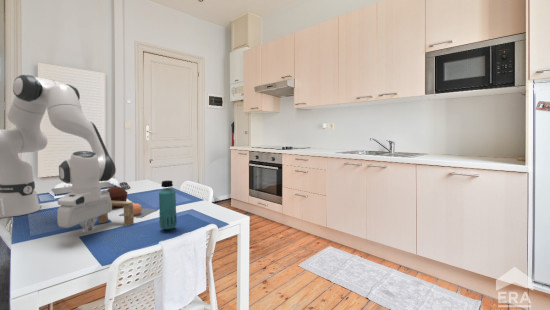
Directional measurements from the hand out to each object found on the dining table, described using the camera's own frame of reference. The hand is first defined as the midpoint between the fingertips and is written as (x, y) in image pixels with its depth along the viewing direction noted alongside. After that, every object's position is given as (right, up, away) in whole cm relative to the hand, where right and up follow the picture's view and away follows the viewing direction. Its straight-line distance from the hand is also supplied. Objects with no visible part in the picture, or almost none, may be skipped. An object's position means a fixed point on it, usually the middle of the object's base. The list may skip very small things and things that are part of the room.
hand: (88, 230), depth 99 cm
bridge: (+2, 0, +13) cm, 14 cm away
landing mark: (+5, +1, +28) cm, 28 cm away
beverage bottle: (+27, -2, +7) cm, 28 cm away
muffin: (-12, +2, +37) cm, 39 cm away
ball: (+5, +3, +24) cm, 24 cm away
